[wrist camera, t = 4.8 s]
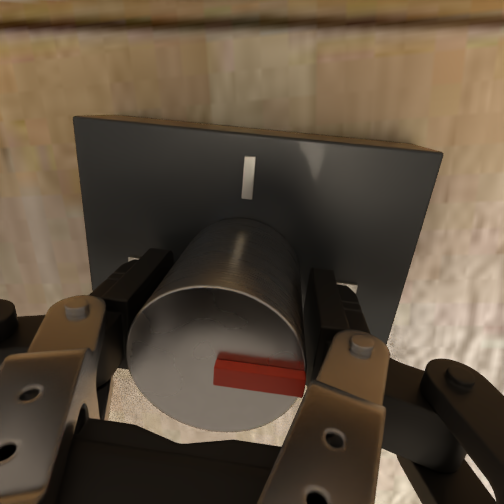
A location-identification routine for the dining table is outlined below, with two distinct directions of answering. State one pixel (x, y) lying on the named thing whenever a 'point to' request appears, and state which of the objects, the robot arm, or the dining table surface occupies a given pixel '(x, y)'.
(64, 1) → the dining table surface
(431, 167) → the dial base plate
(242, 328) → the silver dial knob
